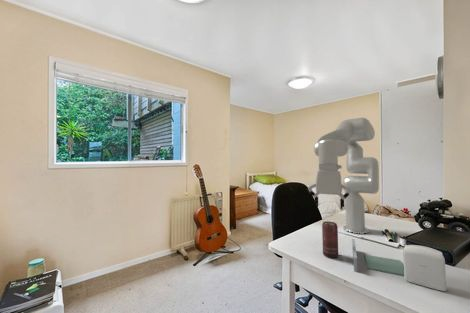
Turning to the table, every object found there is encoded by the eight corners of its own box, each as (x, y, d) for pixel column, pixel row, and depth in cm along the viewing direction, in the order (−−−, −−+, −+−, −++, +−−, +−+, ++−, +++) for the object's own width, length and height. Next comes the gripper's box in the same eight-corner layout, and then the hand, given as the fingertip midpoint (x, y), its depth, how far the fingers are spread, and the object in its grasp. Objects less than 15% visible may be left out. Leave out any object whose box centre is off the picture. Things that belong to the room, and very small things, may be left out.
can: (330, 259, 86) (329, 226, 86) (319, 253, 92) (319, 221, 92) (342, 257, 87) (341, 224, 87) (331, 251, 93) (330, 220, 94)
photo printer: (403, 281, 70) (402, 244, 70) (404, 276, 73) (403, 240, 73) (447, 294, 63) (445, 253, 63) (445, 287, 66) (444, 248, 67)
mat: (364, 255, 89) (364, 254, 89) (399, 261, 83) (399, 260, 83) (367, 268, 78) (367, 267, 78) (408, 276, 72) (408, 275, 73)
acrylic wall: (352, 250, 94) (352, 239, 94) (354, 250, 94) (354, 239, 94) (354, 271, 77) (354, 257, 77) (357, 271, 76) (357, 258, 76)
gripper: (350, 167, 89) (351, 207, 89) (308, 167, 97) (309, 204, 97) (351, 168, 83) (352, 211, 82) (306, 168, 91) (306, 207, 90)
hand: (329, 207), depth 90 cm, fingers open, 9 cm apart
